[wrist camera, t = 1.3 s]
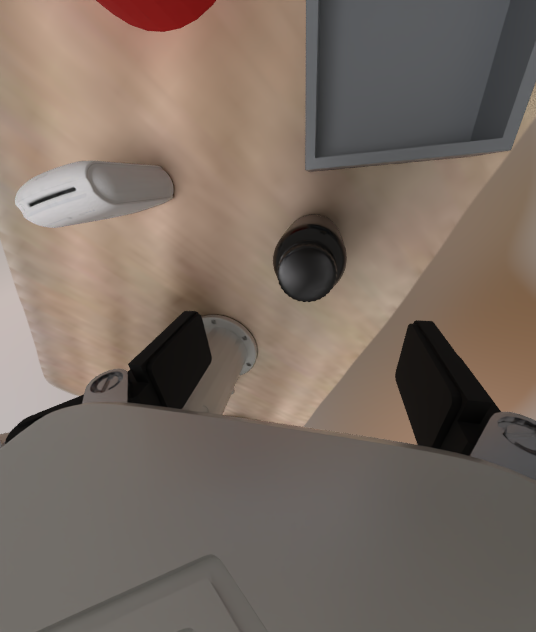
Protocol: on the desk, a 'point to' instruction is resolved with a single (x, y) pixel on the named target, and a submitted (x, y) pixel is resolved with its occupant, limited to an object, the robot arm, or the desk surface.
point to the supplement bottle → (310, 258)
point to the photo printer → (92, 192)
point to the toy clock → (157, 12)
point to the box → (415, 79)
